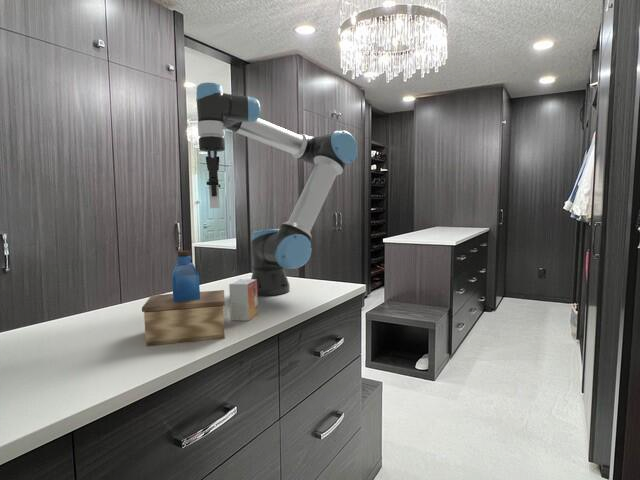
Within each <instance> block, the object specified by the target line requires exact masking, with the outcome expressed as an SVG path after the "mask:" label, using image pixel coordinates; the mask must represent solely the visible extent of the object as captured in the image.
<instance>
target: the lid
mask: <svg viewBox="0 0 640 480" xmlns="http://www.w3.org/2000/svg"><path fill="white" fill-rule="evenodd" d="M225 303H226V301H225V290H224V289H222V290H220V289H219V290H204V291H200V299H198V300H188V301H179V302H174V299H173V293H167V294H166V293H165V294H154V295H151V296H150V297H149V298H148V299H147V301H145V303H144V304H143V306H142V307H141V313H144V312H148V311H160V310H172V309H184V308H196V307H208V306H220V305H223V306H225V305H226V304H225Z"/></svg>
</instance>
